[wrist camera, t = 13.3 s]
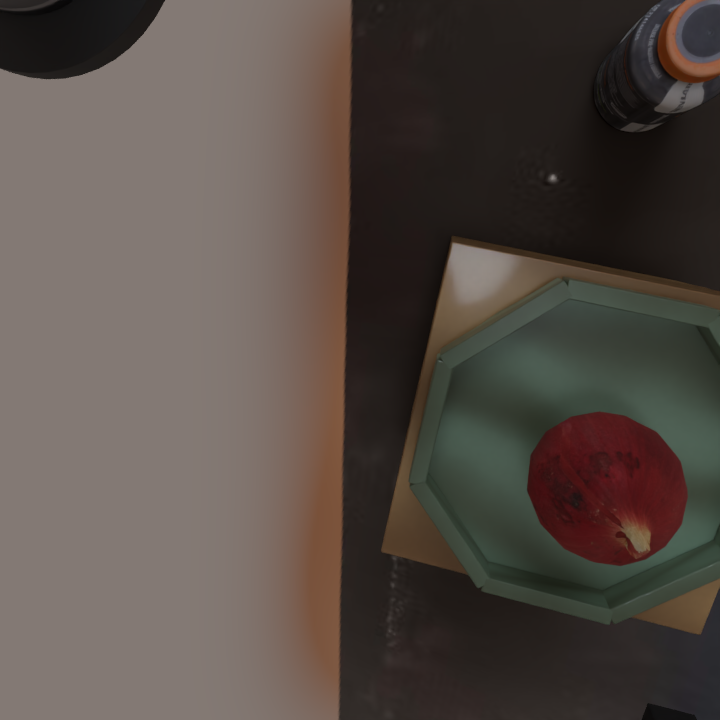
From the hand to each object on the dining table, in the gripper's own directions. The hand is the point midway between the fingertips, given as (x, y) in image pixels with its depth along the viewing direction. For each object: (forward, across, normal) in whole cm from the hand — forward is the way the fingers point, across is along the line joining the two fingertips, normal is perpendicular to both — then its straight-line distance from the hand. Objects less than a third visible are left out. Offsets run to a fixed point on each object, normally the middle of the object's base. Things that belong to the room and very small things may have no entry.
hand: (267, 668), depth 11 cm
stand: (+36, +10, -1) cm, 37 cm away
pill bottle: (+36, +12, +19) cm, 43 cm away
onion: (+18, +10, -1) cm, 20 cm away
